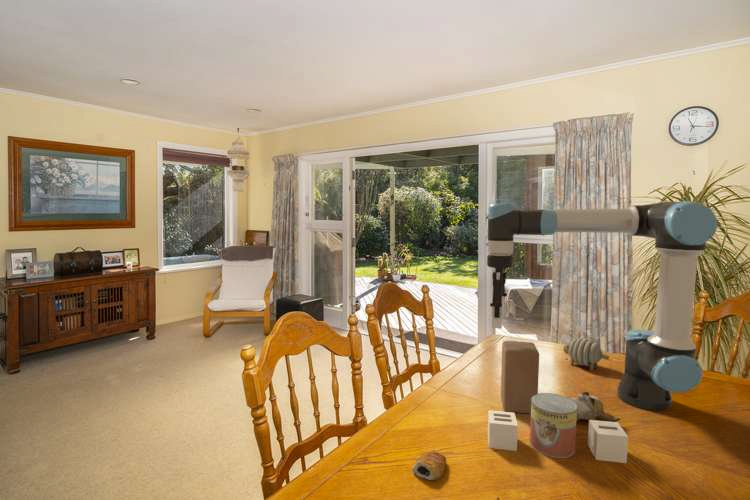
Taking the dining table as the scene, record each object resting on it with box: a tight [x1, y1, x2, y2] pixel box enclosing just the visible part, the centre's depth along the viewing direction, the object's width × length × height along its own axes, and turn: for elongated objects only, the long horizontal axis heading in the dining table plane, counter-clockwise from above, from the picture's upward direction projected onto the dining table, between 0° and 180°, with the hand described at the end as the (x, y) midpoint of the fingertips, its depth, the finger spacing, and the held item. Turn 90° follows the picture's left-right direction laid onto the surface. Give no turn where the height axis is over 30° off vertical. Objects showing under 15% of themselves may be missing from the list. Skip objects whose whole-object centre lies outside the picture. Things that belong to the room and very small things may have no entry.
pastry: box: [411, 451, 447, 481], centre depth 101 cm, size 9×7×4 cm
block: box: [500, 340, 540, 415], centre depth 132 cm, size 10×10×20 cm
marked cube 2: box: [587, 420, 629, 464], centre depth 107 cm, size 7×7×7 cm
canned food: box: [529, 392, 578, 459], centre depth 111 cm, size 11×11×12 cm
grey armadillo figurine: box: [562, 338, 610, 371], centre depth 165 cm, size 11×17×11 cm, turn 48°
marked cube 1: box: [487, 409, 519, 452], centre depth 112 cm, size 7×7×7 cm
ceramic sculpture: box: [566, 391, 621, 422], centre depth 125 cm, size 11×9×15 cm
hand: (498, 322), depth 129 cm, fingers open, 13 cm apart
